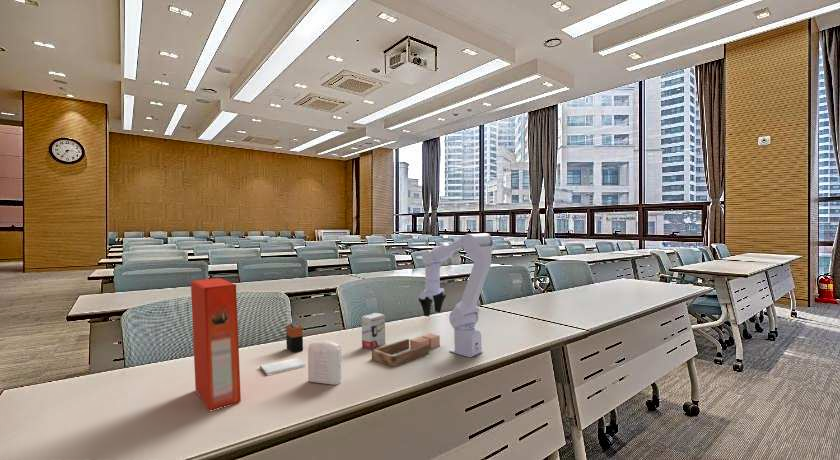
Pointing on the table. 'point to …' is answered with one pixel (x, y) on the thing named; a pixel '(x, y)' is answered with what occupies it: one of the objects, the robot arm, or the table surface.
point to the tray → (385, 353)
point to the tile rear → (432, 340)
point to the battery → (294, 337)
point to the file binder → (216, 342)
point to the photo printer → (324, 362)
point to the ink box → (373, 330)
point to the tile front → (418, 342)
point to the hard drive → (282, 366)
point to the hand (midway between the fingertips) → (432, 313)
